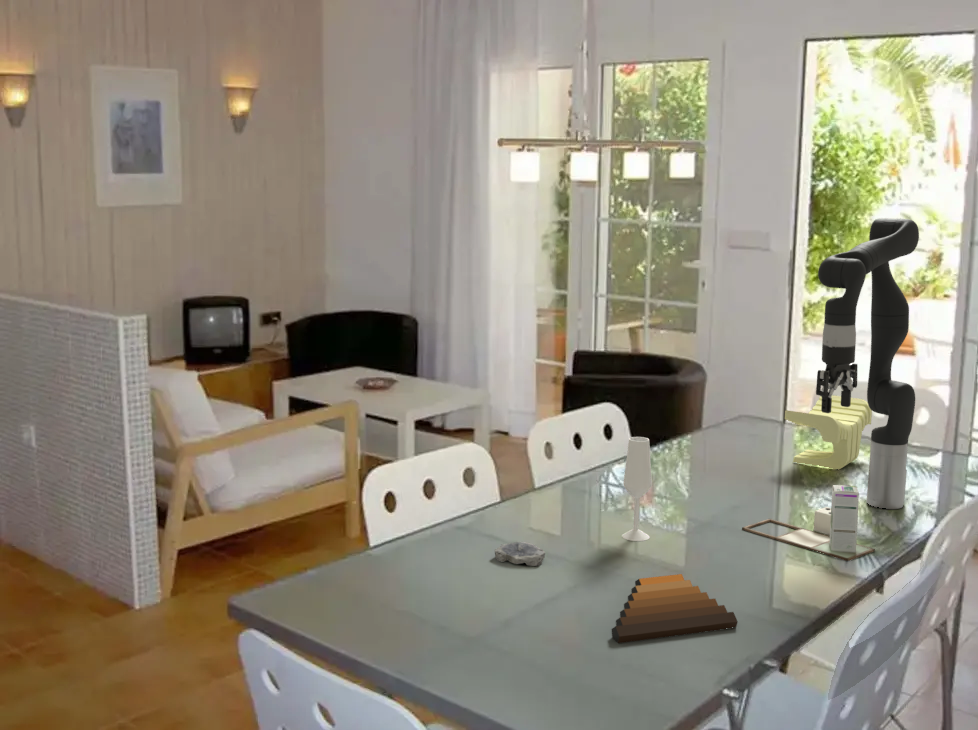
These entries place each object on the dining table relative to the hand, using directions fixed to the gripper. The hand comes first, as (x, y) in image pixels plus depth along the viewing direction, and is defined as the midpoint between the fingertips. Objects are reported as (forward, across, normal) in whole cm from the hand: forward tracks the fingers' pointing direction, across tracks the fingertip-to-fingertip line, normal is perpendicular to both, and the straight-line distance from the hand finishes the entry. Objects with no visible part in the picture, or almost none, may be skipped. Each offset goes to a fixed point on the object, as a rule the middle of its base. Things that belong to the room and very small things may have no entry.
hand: (835, 409), depth 276 cm
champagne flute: (+30, +38, -29) cm, 57 cm away
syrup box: (+30, +9, +9) cm, 33 cm away
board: (+31, +9, -1) cm, 32 cm away
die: (+31, -1, -1) cm, 31 cm away
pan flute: (+29, +72, +3) cm, 78 cm away
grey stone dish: (+29, +70, -36) cm, 84 cm away
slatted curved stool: (+33, -58, -36) cm, 76 cm away
